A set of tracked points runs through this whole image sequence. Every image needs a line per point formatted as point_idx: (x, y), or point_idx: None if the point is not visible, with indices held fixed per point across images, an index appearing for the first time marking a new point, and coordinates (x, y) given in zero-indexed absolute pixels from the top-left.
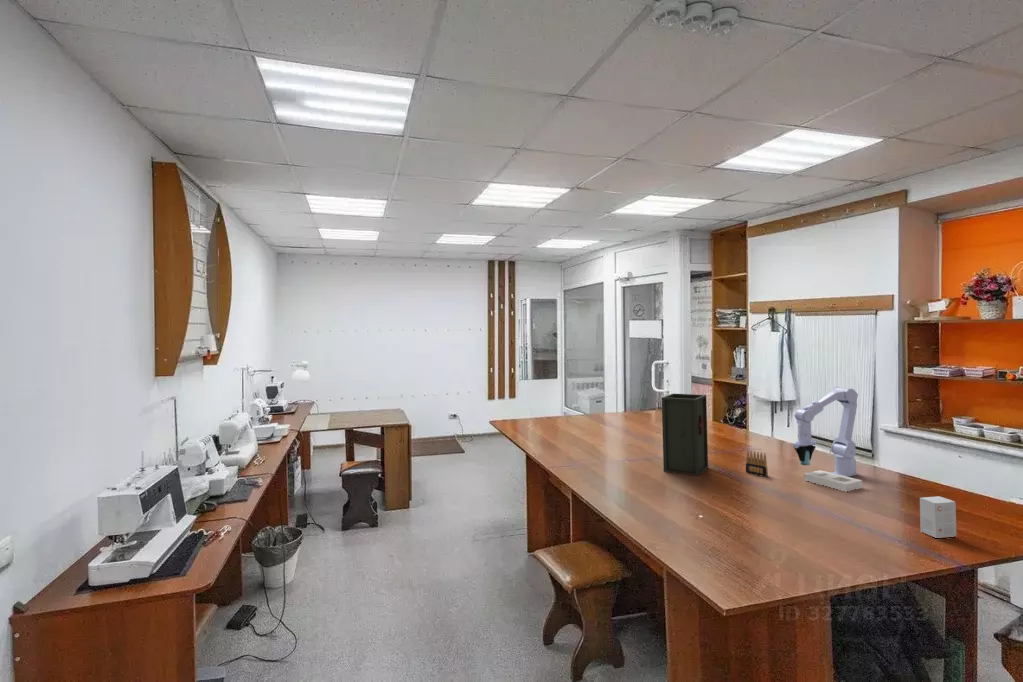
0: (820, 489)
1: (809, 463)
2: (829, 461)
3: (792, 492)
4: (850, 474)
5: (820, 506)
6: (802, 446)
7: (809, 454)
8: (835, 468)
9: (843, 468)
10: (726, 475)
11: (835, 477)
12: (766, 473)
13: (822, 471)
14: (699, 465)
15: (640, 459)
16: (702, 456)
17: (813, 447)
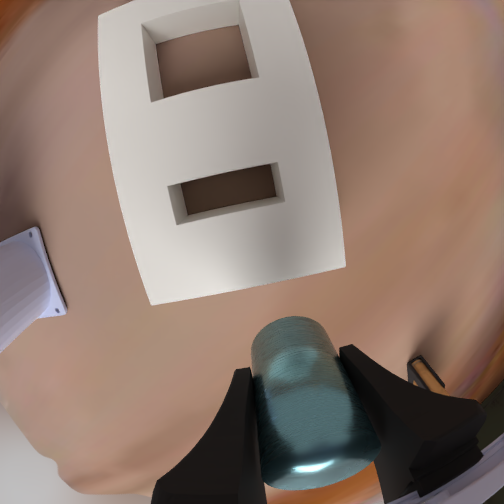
0: (371, 79)
1: (279, 329)
2: (25, 405)
3: (491, 128)
4: (12, 241)
5: (472, 3)
6: (438, 484)
7: (286, 407)
8: (37, 312)
9: (13, 265)
10: (481, 375)
11: (197, 92)
12: (422, 366)
13: (159, 269)
14: (498, 409)
15: None
16: (482, 444)
17: (224, 498)
